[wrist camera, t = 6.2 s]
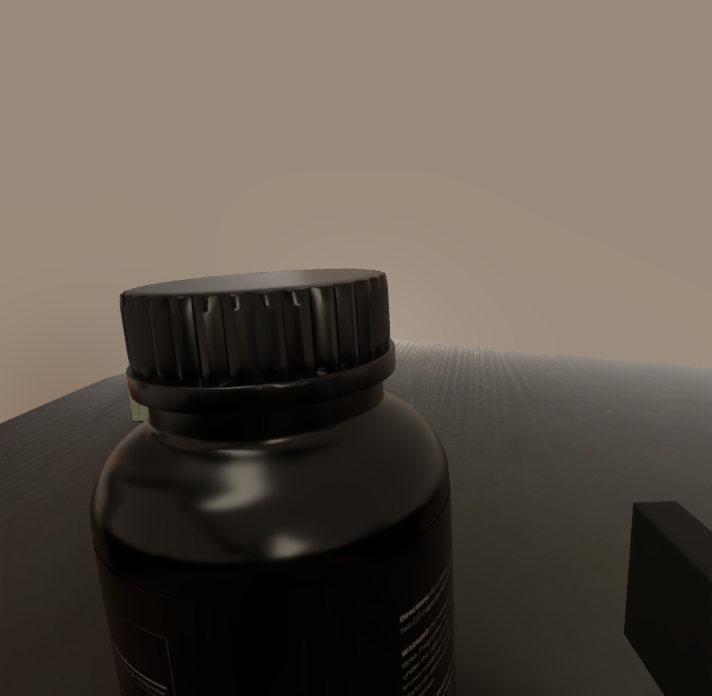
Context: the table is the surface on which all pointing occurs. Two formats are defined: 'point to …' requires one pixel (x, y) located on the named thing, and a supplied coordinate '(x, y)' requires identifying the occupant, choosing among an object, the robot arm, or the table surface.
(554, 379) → the table surface
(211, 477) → the supplement bottle
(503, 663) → the table surface
